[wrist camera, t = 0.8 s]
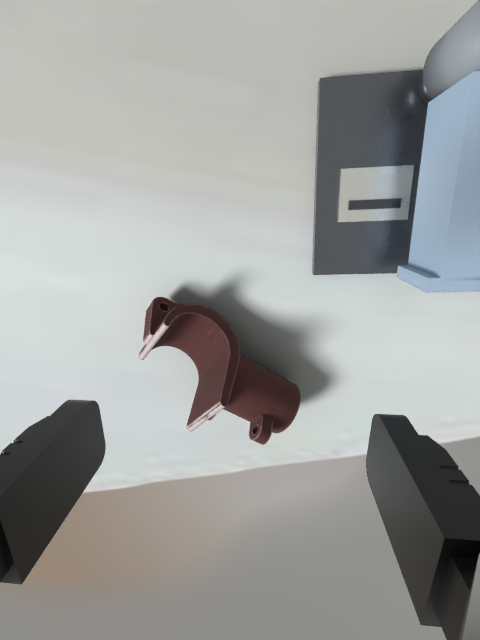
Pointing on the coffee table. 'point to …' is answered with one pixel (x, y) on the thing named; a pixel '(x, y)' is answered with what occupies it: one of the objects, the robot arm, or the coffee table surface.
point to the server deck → (367, 171)
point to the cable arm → (449, 167)
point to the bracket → (221, 369)
